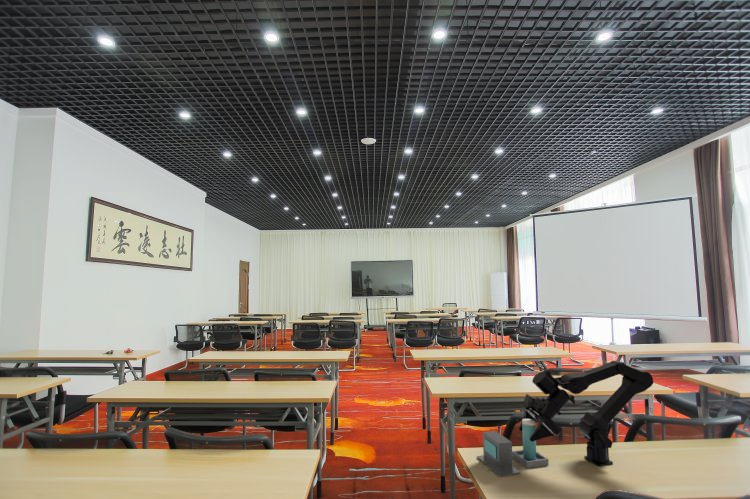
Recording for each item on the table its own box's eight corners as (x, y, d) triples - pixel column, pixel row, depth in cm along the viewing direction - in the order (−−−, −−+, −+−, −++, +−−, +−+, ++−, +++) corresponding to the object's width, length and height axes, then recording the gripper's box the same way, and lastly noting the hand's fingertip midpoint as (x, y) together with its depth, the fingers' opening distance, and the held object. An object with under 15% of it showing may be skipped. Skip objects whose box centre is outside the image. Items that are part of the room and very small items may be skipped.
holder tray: (532, 454, 137) (531, 448, 137) (548, 465, 128) (548, 459, 129) (512, 457, 134) (511, 451, 135) (527, 468, 126) (527, 462, 126)
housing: (496, 455, 136) (495, 428, 137) (520, 473, 122) (519, 443, 123) (477, 457, 134) (476, 430, 135) (499, 477, 120) (498, 446, 121)
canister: (535, 456, 133) (533, 419, 134) (537, 462, 129) (536, 423, 130) (522, 455, 134) (521, 418, 135) (524, 460, 130) (523, 422, 131)
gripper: (526, 380, 143) (499, 410, 142) (549, 394, 125) (518, 428, 123) (547, 401, 143) (520, 431, 141) (574, 418, 124) (543, 453, 123)
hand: (524, 435), depth 132 cm, fingers open, 9 cm apart
